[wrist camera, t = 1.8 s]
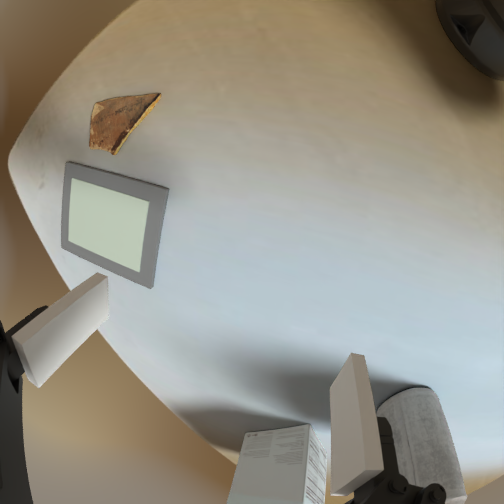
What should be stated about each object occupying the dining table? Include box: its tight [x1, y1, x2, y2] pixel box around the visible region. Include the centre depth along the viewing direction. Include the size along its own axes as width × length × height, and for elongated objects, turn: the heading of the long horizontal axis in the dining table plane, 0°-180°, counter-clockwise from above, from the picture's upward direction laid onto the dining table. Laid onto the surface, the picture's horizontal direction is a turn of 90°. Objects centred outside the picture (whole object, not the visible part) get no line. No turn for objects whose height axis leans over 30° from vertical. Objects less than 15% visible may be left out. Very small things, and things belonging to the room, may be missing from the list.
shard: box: [89, 93, 161, 155], centre depth 30 cm, size 11×8×2 cm
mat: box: [61, 162, 169, 289], centre depth 35 cm, size 14×18×1 cm
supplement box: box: [227, 424, 327, 504], centre depth 38 cm, size 13×13×18 cm
